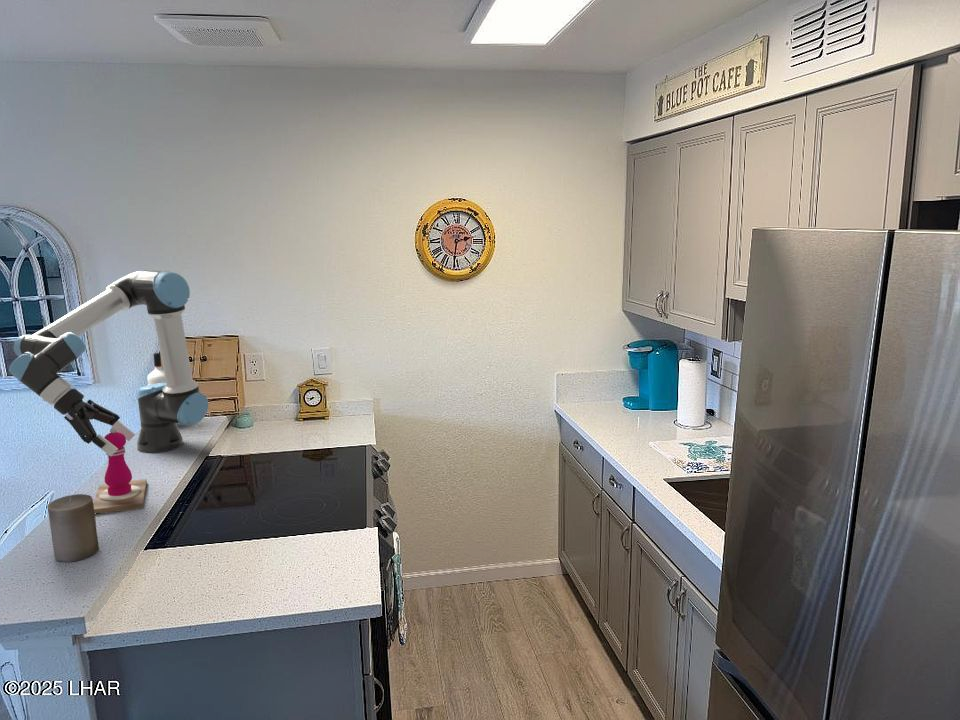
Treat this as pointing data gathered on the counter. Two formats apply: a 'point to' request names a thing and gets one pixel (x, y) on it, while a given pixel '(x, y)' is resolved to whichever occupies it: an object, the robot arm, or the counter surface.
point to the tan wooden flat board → (120, 498)
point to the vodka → (156, 371)
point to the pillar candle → (73, 527)
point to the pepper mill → (117, 466)
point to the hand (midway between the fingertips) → (123, 445)
